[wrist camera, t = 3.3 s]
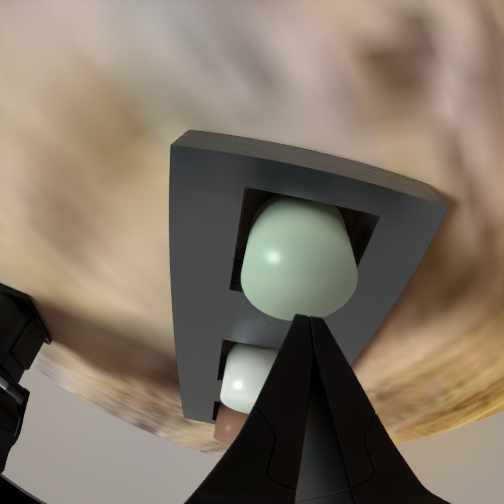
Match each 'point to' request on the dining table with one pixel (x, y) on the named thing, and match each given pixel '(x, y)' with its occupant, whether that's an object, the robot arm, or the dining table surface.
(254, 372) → the white button
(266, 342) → the button panel
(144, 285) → the dining table surface
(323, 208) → the sage button
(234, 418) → the terracotta button
